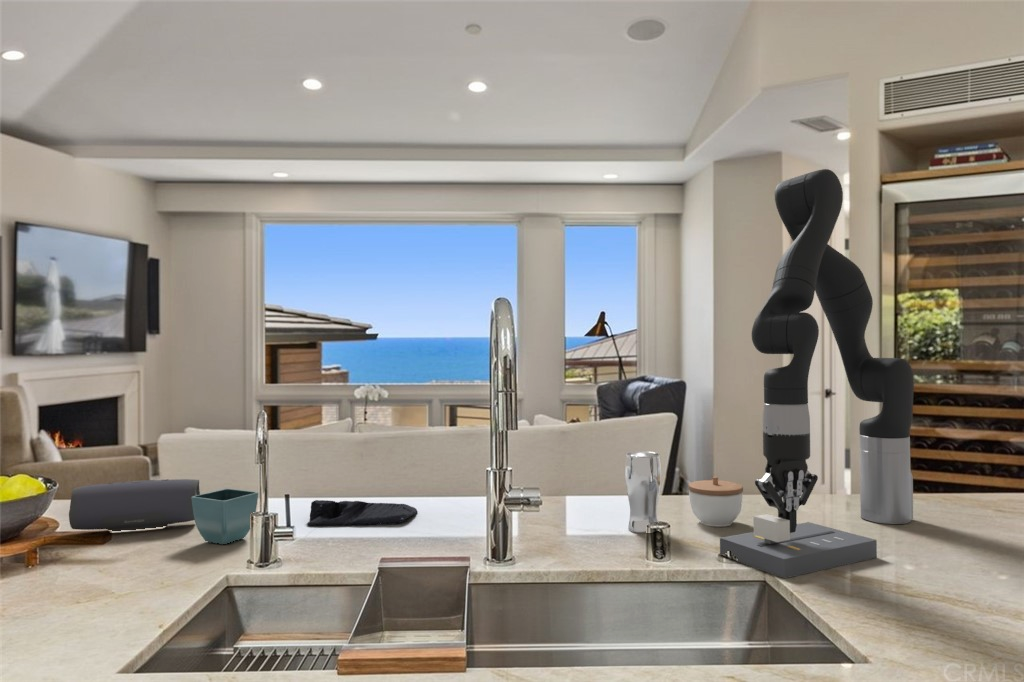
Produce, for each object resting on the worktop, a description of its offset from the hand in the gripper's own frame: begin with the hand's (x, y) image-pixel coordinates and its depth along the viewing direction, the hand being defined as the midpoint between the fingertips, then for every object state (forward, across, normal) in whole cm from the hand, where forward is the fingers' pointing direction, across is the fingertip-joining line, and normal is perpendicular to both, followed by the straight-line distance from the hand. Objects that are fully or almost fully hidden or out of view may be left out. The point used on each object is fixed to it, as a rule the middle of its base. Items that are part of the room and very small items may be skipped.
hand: (787, 531), depth 121 cm
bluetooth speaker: (+5, +98, -78) cm, 126 cm away
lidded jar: (+5, -6, -24) cm, 25 cm away
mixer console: (+5, -2, 0) cm, 5 cm away
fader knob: (+1, +4, 0) cm, 4 cm away
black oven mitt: (+5, +55, -64) cm, 85 cm away
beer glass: (+5, +10, -27) cm, 29 cm away
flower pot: (+5, +84, -60) cm, 103 cm away
